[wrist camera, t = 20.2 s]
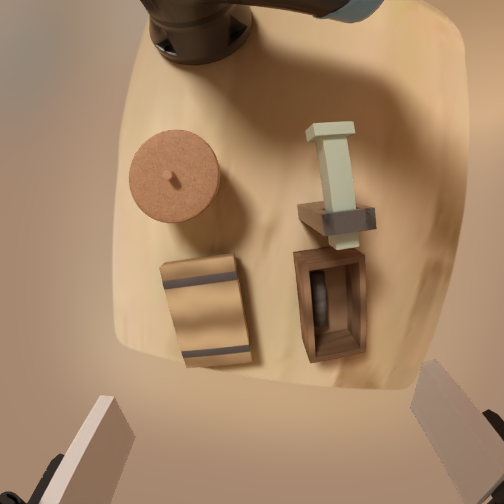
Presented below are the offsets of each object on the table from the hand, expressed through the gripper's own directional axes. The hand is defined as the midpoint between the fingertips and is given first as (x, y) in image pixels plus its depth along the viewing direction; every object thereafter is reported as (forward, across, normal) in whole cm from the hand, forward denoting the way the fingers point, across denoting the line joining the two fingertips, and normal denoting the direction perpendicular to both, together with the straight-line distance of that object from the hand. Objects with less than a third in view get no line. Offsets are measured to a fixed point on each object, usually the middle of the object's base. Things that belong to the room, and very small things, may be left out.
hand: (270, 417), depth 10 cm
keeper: (+31, +9, +4) cm, 33 cm away
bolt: (+22, +9, +8) cm, 25 cm away
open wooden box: (+31, +9, -8) cm, 33 cm away
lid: (+30, -8, -8) cm, 32 cm away
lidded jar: (+31, -8, +10) cm, 34 cm away
